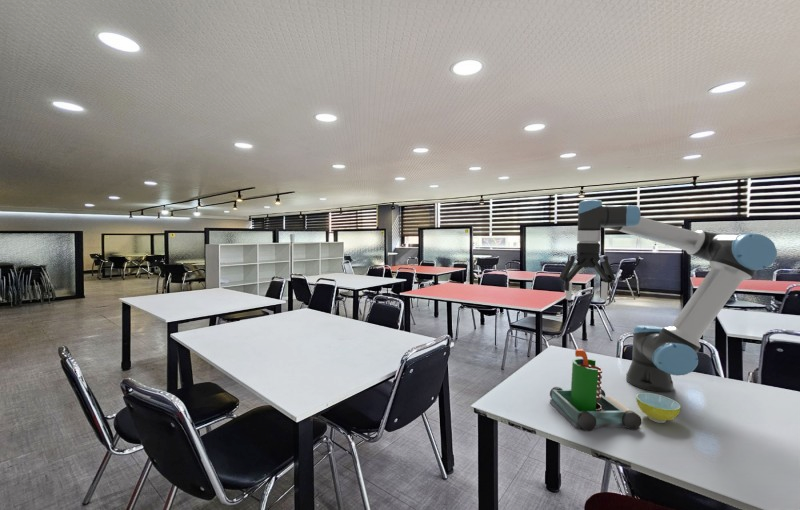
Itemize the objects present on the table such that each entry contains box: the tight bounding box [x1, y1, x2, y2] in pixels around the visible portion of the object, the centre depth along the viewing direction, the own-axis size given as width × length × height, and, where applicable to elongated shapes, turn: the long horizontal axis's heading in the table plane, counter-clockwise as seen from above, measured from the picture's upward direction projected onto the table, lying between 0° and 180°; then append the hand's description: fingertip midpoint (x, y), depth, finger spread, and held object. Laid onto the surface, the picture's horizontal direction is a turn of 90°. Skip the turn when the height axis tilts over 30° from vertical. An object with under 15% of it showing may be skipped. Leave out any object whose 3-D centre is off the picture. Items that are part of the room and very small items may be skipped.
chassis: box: [549, 386, 642, 432], centre depth 114 cm, size 20×19×5 cm
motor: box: [570, 348, 603, 411], centre depth 113 cm, size 10×9×20 cm
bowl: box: [635, 392, 681, 424], centre depth 111 cm, size 11×12×6 cm
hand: (586, 299), depth 129 cm, fingers open, 13 cm apart
